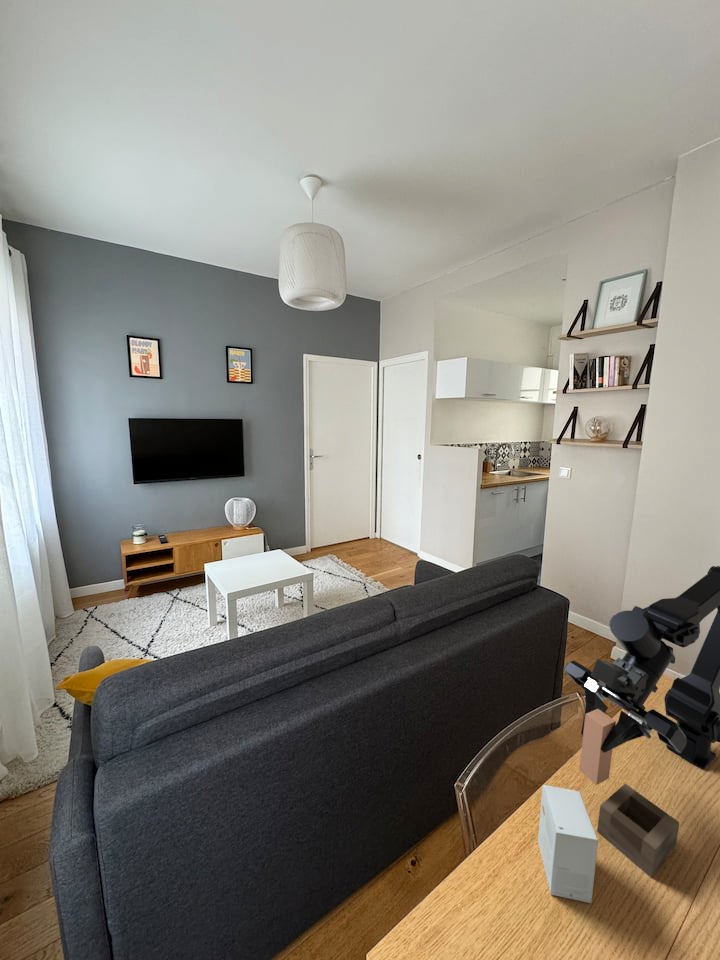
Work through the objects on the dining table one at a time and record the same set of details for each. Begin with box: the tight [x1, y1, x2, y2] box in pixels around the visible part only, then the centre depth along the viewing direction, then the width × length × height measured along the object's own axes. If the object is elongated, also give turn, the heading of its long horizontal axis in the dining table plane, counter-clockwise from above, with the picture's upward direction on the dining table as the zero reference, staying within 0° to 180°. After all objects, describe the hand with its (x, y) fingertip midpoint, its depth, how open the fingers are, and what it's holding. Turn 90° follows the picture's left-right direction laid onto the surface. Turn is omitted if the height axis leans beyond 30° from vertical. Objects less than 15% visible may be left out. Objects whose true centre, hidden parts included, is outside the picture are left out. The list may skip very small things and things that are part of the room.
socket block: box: [596, 783, 680, 878], centre depth 66 cm, size 8×8×5 cm
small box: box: [537, 784, 599, 904], centre depth 61 cm, size 8×6×10 cm
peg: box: [578, 709, 617, 786], centre depth 69 cm, size 3×3×11 cm
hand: (592, 743), depth 69 cm, fingers closed on peg, 3 cm apart
